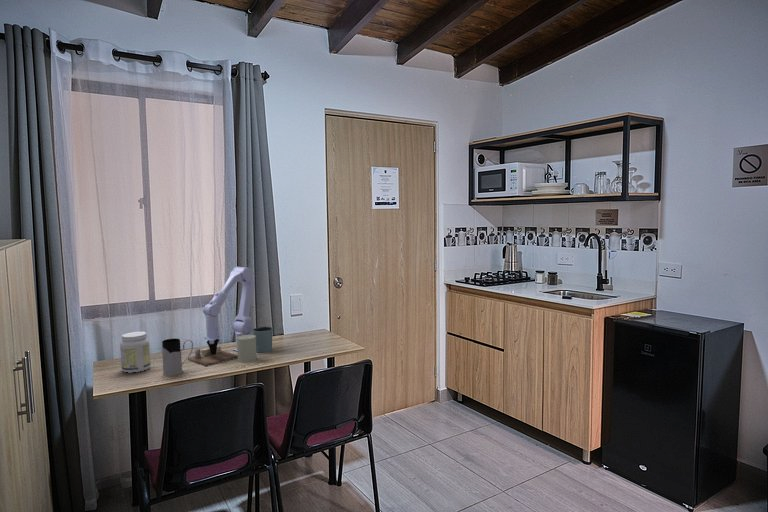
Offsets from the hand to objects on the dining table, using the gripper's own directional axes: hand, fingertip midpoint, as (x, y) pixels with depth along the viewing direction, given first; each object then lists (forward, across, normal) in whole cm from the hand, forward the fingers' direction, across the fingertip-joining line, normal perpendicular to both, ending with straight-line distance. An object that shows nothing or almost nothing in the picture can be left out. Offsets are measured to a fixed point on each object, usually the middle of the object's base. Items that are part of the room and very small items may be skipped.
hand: (213, 354), depth 247 cm
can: (+2, +8, +16) cm, 18 cm away
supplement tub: (+2, +8, -34) cm, 35 cm away
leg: (0, -4, -2) cm, 4 cm away
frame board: (+2, +1, 0) cm, 2 cm away
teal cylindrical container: (+2, -5, +24) cm, 25 cm away
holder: (+2, +17, -14) cm, 22 cm away
